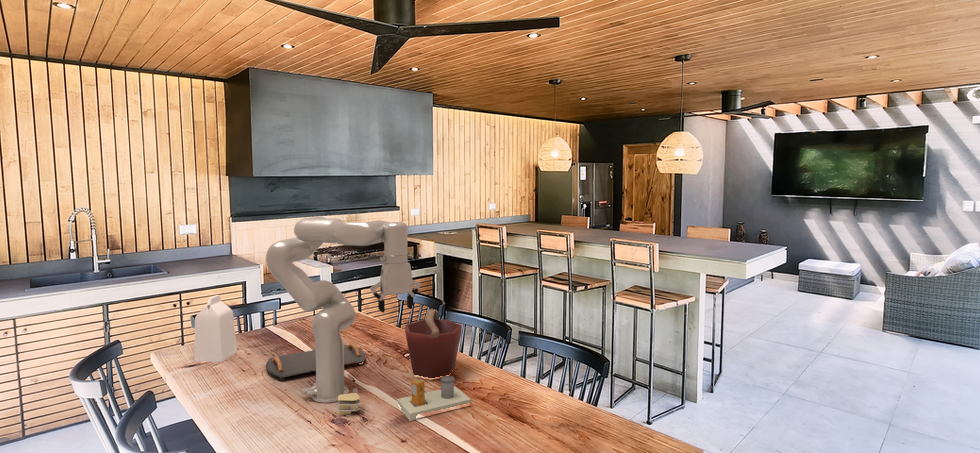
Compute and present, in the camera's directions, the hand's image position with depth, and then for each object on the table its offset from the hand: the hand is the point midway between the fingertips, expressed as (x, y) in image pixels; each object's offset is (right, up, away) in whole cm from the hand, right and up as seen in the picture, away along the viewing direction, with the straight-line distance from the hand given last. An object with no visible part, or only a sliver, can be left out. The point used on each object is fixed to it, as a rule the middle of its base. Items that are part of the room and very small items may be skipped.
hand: (396, 309), depth 167 cm
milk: (-86, -28, +46) cm, 101 cm away
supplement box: (+7, -34, 0) cm, 35 cm away
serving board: (-40, -30, +39) cm, 63 cm away
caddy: (+13, -33, +3) cm, 36 cm away
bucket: (+8, -31, +32) cm, 45 cm away
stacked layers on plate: (-15, -34, -2) cm, 37 cm away
